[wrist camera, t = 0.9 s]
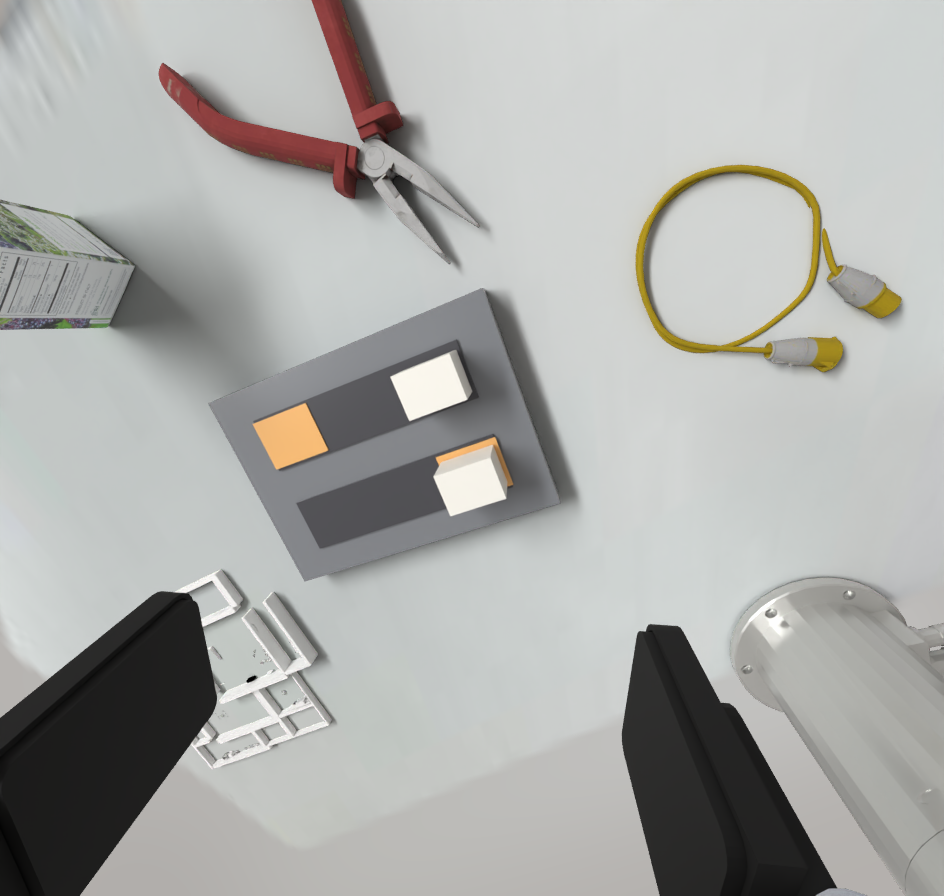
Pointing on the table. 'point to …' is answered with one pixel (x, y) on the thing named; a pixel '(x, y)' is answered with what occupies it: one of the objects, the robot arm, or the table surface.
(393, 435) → the switch panel
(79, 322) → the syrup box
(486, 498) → the tab
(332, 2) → the pliers
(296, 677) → the floor plan model
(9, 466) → the table surface
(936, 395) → the table surface
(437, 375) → the tab
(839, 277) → the extension cord
